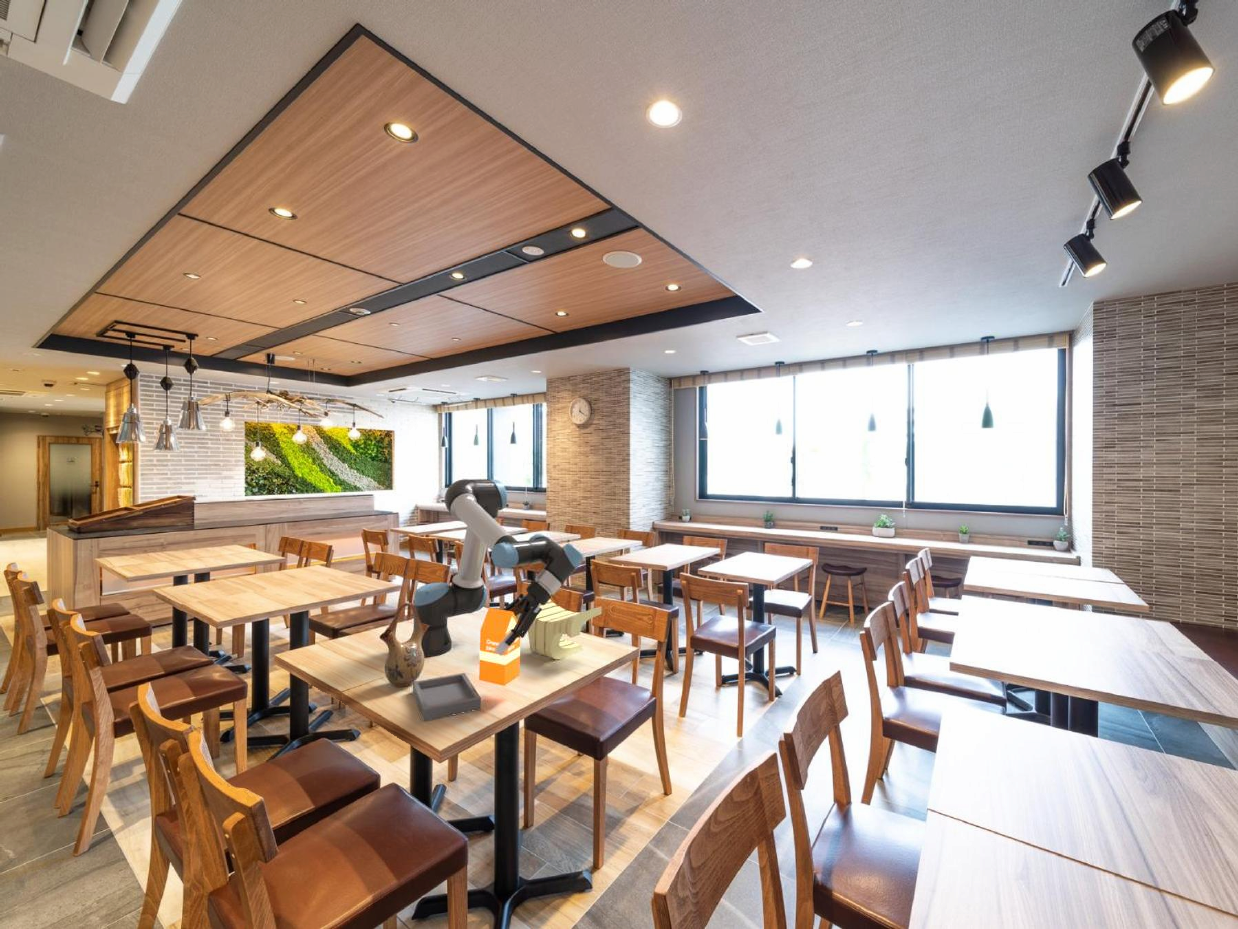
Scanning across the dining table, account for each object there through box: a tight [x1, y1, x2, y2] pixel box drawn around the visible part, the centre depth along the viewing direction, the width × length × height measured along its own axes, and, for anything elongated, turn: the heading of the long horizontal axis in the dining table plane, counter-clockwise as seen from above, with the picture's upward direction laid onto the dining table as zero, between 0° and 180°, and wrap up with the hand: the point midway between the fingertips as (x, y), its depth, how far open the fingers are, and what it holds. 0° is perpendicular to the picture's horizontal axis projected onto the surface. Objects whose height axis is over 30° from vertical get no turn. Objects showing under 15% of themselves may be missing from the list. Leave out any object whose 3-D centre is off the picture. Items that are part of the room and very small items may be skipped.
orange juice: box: [478, 607, 521, 687], centre depth 148 cm, size 8×9×20 cm
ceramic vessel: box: [379, 602, 430, 688], centre depth 156 cm, size 16×9×25 cm, turn 146°
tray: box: [412, 672, 482, 722], centre depth 145 cm, size 20×15×3 cm
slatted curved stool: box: [515, 598, 603, 660], centre depth 186 cm, size 30×16×18 cm, turn 53°
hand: (491, 646), depth 147 cm, fingers closed on orange juice, 11 cm apart
